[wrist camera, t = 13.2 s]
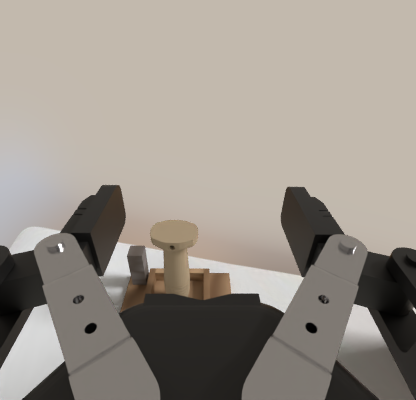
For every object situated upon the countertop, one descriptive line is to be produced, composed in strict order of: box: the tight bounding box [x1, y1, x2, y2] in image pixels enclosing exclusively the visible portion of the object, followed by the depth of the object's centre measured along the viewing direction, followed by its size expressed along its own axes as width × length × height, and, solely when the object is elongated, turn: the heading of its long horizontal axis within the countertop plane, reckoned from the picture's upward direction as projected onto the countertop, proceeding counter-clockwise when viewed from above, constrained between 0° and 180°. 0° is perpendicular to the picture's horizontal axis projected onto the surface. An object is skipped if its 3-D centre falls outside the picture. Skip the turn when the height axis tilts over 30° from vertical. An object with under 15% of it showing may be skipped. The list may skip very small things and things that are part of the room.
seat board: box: [120, 246, 231, 312], centre depth 42 cm, size 18×12×8 cm, turn 91°
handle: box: [150, 220, 198, 297], centre depth 40 cm, size 5×6×15 cm
